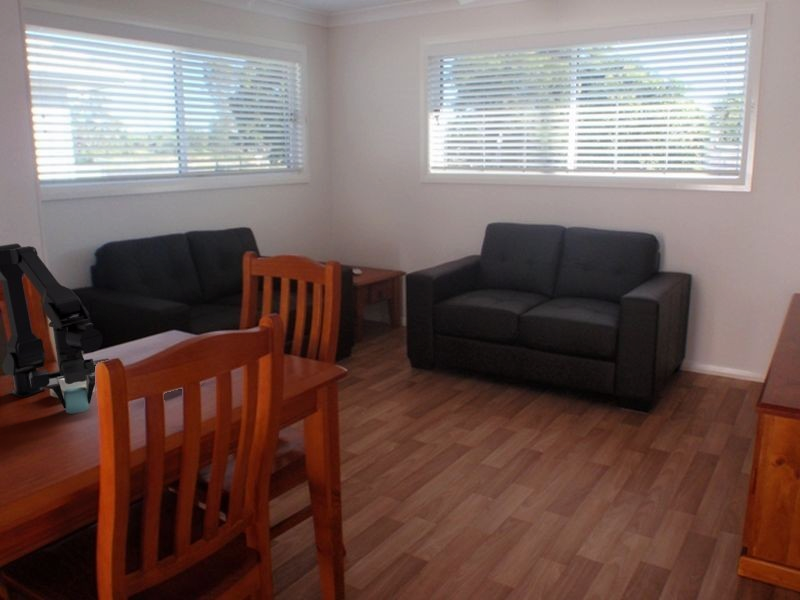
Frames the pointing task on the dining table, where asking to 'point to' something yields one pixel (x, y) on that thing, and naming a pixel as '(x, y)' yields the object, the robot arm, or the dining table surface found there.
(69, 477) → the dining table surface
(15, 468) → the dining table surface
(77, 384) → the top block
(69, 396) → the light teal cube
